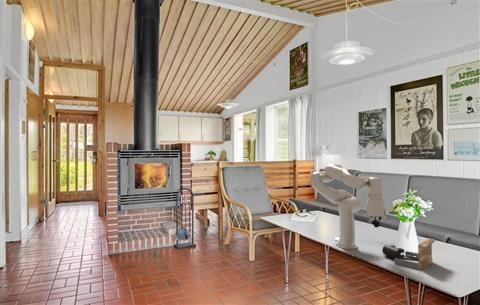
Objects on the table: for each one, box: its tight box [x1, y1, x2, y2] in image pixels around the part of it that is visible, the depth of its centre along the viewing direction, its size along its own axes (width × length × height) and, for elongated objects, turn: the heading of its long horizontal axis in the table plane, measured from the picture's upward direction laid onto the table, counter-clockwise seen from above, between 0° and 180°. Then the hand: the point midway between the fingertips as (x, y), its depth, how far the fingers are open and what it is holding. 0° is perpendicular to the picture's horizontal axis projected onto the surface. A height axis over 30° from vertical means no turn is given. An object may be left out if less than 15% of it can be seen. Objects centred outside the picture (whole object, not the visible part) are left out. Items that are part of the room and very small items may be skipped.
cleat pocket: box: [394, 250, 419, 270], centre depth 172 cm, size 12×18×3 cm, turn 133°
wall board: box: [417, 238, 436, 271], centre depth 166 cm, size 3×18×13 cm, turn 133°
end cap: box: [381, 244, 405, 260], centre depth 179 cm, size 10×7×7 cm
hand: (376, 227), depth 186 cm, fingers closed
